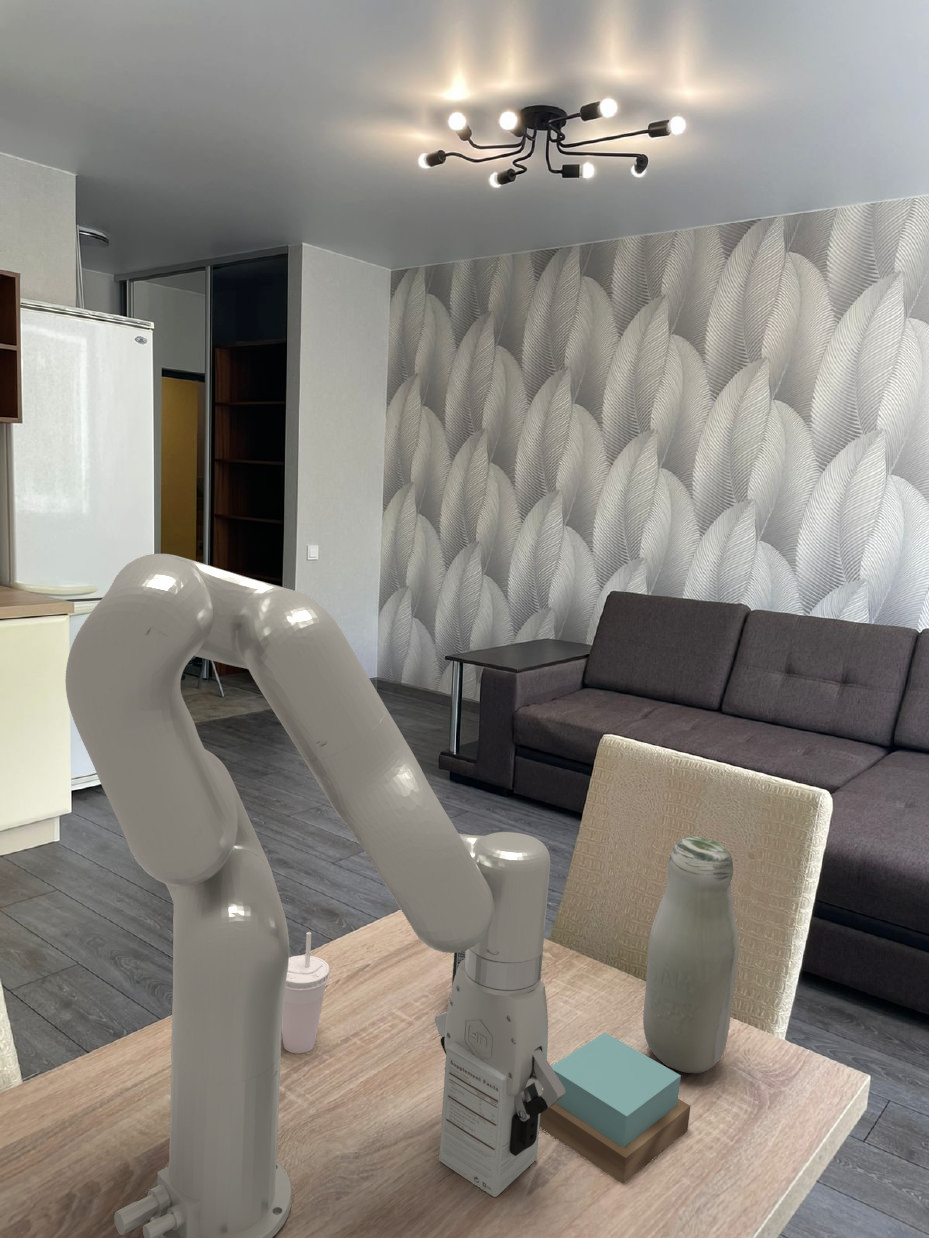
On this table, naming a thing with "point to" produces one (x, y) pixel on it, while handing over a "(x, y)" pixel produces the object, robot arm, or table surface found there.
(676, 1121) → the tower base
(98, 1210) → the table surface
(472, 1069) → the supplement box
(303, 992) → the smoothie
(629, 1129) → the tower top
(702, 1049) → the glass bottle
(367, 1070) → the table surface
